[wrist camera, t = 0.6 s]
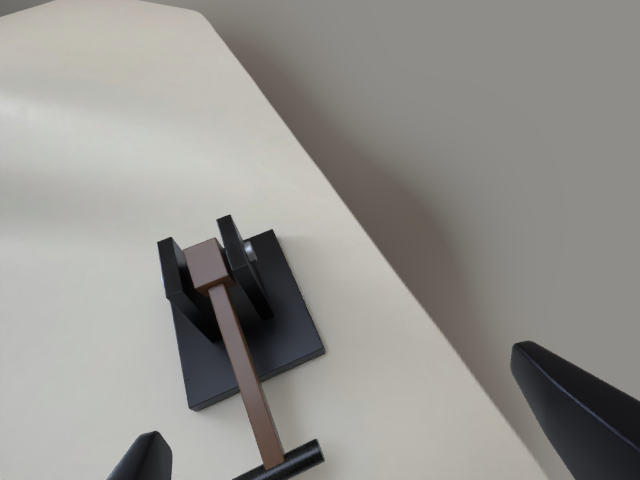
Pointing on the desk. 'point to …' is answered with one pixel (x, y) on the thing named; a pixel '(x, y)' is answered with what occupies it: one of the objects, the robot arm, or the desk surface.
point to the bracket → (238, 315)
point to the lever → (246, 367)
